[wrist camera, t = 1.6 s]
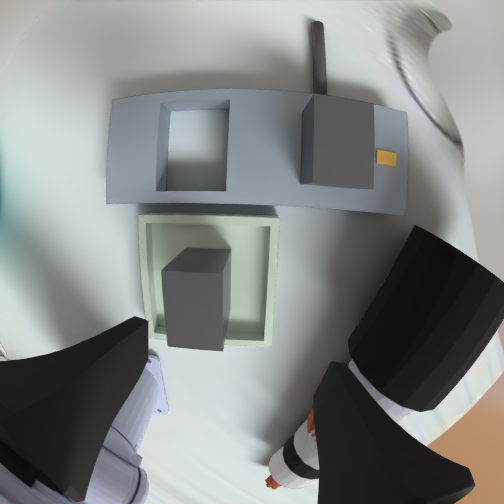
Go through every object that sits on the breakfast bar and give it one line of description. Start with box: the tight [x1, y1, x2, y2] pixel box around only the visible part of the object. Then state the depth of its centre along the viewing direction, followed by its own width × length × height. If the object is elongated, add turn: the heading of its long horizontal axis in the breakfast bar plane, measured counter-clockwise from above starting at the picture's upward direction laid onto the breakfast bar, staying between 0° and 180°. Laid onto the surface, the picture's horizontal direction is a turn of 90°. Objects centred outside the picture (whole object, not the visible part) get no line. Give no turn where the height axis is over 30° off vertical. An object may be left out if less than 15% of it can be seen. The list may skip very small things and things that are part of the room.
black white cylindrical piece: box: [265, 225, 504, 489], centre depth 21 cm, size 10×34×10 cm, turn 155°
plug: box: [161, 248, 231, 351], centre depth 18 cm, size 4×5×6 cm
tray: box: [138, 213, 280, 347], centre depth 21 cm, size 10×10×2 cm
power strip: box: [106, 21, 408, 216], centre depth 15 cm, size 22×16×6 cm
